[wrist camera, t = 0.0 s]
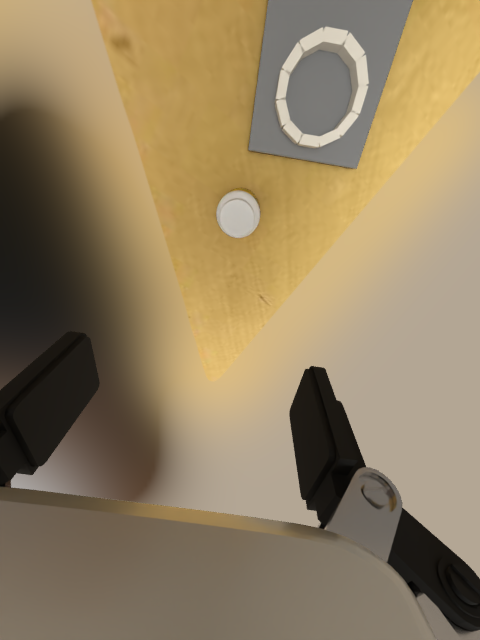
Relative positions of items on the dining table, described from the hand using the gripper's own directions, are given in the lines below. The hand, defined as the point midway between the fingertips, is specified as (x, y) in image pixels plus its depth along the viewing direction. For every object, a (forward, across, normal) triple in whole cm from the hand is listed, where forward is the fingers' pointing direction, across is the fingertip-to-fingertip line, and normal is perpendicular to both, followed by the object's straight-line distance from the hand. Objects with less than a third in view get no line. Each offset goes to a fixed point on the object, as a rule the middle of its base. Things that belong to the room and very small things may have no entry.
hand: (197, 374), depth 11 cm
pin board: (+31, -7, -20) cm, 38 cm away
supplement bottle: (+31, 0, -3) cm, 32 cm away
